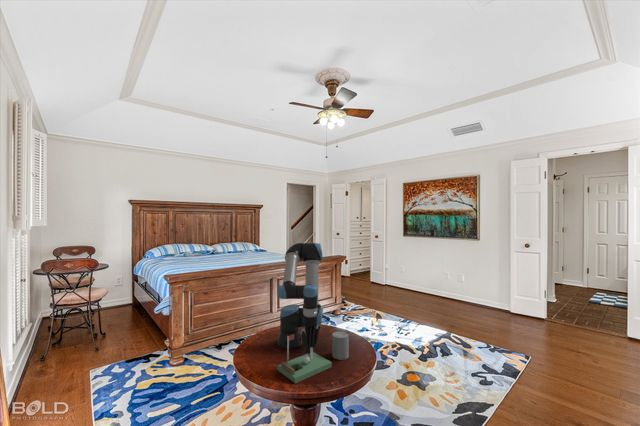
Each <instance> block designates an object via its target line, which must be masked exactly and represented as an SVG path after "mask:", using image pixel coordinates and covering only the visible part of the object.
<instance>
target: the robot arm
mask: <svg viewBox="0 0 640 426" xmlns="http://www.w3.org/2000/svg"><path fill="white" fill-rule="evenodd" d="M284 254H285V255H284V260H285V265H284V272H283V279H282V280H283V281H282V284H281V285H278V287H277V297H278V299H280V300H303V304H302V307H300V306H299V305H298V304H288V305H285V306H283V307H281V309H280V315H279V320H280V321H279V323H280V327H279V328H280V329H279V334H278V338H277V342H276V344H277V346H278V347H279V348H281V349H285V350H286V349H287V336H290V335H293V334H294V339H293V340H290V341H289V349H290V350H291V349H297V348H298V347H300V346H301V345H303V347H304V348H306V354H307V356H309V358H310V360H313V352H314V351H315V347H316V345H317V344H318V339H319V333H320V330H321V328H322V327H321V326H322V321H323V312H324V308H323V307H322V305H321V303H320V302H319V266H320V265H321V262H322V261H323V260H324V259H323V257H324V256H323V248H322V244H321V243H319V242H297V243H294V244H293V245H291V246H289V248H288V249H287V250H286V252H285V253H284ZM299 261H303V264H304V265H305V273H304V274H305V281H304V282H305V284H303V285H302V284H300V285H298V284H297V271H298V263H299ZM300 328H302V329H300ZM314 353H315V352H314Z"/></svg>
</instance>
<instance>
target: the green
mask: <svg viewBox="0 0 640 426" xmlns="http://www.w3.org/2000/svg"><path fill="white" fill-rule="evenodd" d="M293 339H294V334H293V335H290V336H287V350H286V356H287V357H286V361H285V362H284V361H282V362H281V363H280V364H278V365H277V368H276V370H277V371H278V372H279V373H281V374H282V375H283V376H285V377H286V378H287V379H289V380H291V381H292V382H293V383H294V384H297V383H299V382H302V381H304V380H306V379H309V378H311V377H313V376H315V375H318V374H319V373H321V372H324V371H326V370H328V369H331V368H332V367H333V362H332V361H331V360H328V359H326V358H325V357H323V356H321V355H320V354H318V353H316V352H313V360H310V361H309V363H307V364H304V363H303V361H302V358H303V357H304V356H306V355H307V353H306V354H303V355H300V356H297V357H295V358H293V359H290V356H289V355H290V352H289V351H290V350H289V341H290V340H293Z"/></svg>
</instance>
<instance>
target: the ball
mask: <svg viewBox="0 0 640 426" xmlns="http://www.w3.org/2000/svg"><path fill="white" fill-rule="evenodd" d="M302 361H303V363H304V364H307V363H309V361H310V358H309V356H307V355H306V356H304V357H303V358H302Z"/></svg>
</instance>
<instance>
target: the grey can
mask: <svg viewBox="0 0 640 426" xmlns="http://www.w3.org/2000/svg"><path fill="white" fill-rule="evenodd" d="M331 335H332V342H331V343H332V344H331V345H332V347H331V350H332V351H331V352H332V353H331V356H332V358H334V359H335V360H339V361H343V360H347V359H348V358H349V357H350V355H349V352H350V351H349V349H350V346H349V344H350V343H349V339H350V337H349V336H350V334H349V333H348V332H346V331H343V330H342V331H341V330H338V331H334V332H332V334H331Z"/></svg>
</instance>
